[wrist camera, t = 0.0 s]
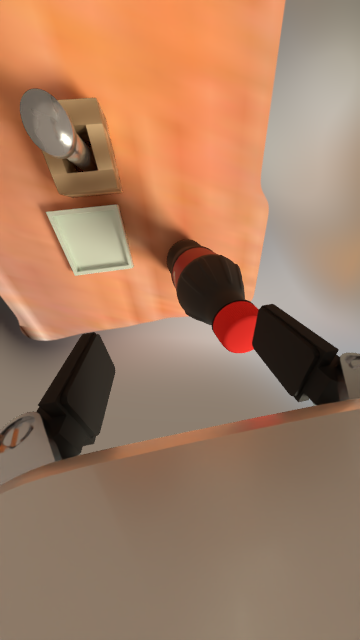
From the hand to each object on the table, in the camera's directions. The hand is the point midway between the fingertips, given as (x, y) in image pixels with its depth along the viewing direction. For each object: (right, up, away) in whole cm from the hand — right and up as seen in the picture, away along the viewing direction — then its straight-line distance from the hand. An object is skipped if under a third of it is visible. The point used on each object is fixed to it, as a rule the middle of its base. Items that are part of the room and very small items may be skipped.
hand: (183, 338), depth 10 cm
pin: (-16, +28, +17) cm, 36 cm away
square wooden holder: (-16, +28, +17) cm, 36 cm away
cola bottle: (+1, +16, +28) cm, 32 cm away
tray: (-17, +17, +23) cm, 34 cm away
